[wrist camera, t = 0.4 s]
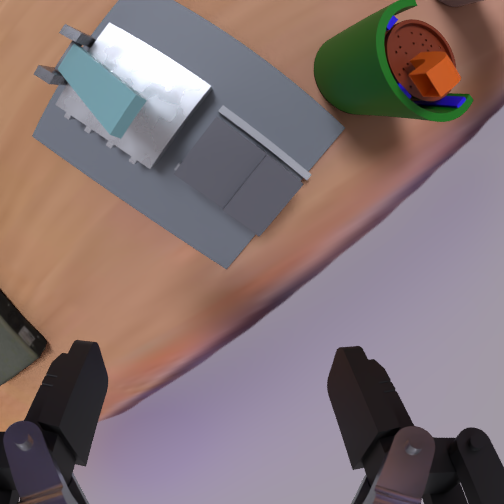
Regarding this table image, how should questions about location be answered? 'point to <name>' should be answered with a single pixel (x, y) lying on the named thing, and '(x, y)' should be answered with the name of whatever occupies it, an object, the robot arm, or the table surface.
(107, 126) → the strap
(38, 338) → the network switch
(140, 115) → the silver toothed block
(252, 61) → the board
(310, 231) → the table surface
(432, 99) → the motor
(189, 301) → the table surface
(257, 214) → the block
